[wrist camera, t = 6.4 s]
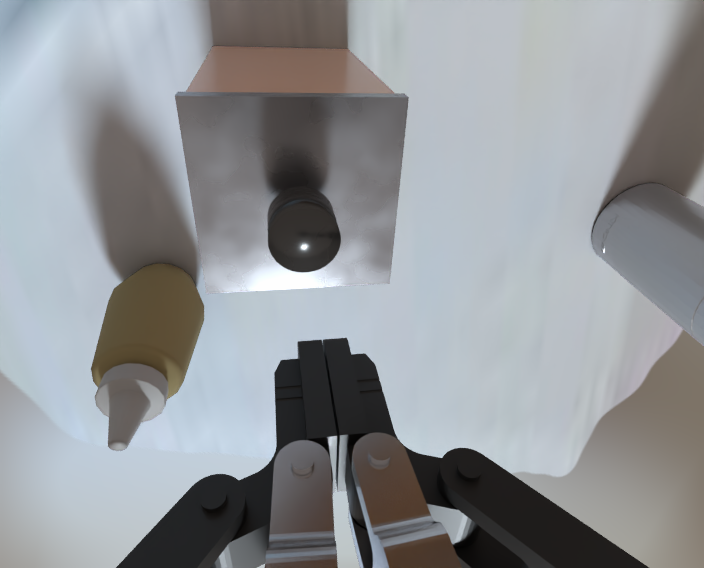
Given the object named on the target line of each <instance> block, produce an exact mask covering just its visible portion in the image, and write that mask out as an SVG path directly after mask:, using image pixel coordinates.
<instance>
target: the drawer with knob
mask: <svg viewBox="0 0 704 568" xmlns="http://www.w3.org/2000/svg"><path fill="white" fill-rule="evenodd" d="M175 99H176V105H177V111H178V117H179V124H180V130H181V136H182V143H183V149H184V155H185V161H186V168H187V174H188V180H189V187H190V193H191V199H192V205H193V212H194V218H195V224H196V231H197V237H198V243H199V249H200V256H201V262H202V268H203V275H204V281H205V287H206V293H207V294H210V293H228V292H246V291H264V290H281V289H299V288H317V287H335V286H353V285H371V284H388V283H390V274H391V264H392V255H393V245H394V235H395V225H396V216H397V206H398V196H399V186H400V177H401V167H402V157H403V147H404V138H405V128H406V118H407V108H408V99H409V97H408V96H406V95H405V94H386V93H266V92H177V94H176V95H175Z"/></svg>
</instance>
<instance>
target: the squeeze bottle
mask: <svg viewBox="0 0 704 568" xmlns="http://www.w3.org/2000/svg"><path fill="white" fill-rule="evenodd" d="M203 321H204V305H203V302H202V300H201V298H200V295H199V293H198V290H197V288H196V286H195V284H194V282H193V280H192V278H191V276H189V275H188V274H187V273H186V272H185V271H183V270H182V269H181V268H178V267H175V266H173V265H170V264H159V263H155V264H152V265H148V266H145V267H143V268H141V269H140V270H138V271H137V272H136V273H134V274H133V275H131V276H130V277H128V278H127V279H126V280H124V281H123V282H122V283H121V284H119V285H118V286H117V287H116V288H114V290H113V292H112V295H111V297H110V299H109V302H108V305H107V309H106V313H105V317H104V321H103V325H102V329H101V332H100V336H99V340H98V344H97V348H96V352H95V356H94V360H93V363H92V367H91V371H92V377H93V382H94V383H95V384H96V385H97V387H98V390H97V392H96V395H95V400H96V406H97V407H98V408H99V409H100V411H101V412H102V413H103V414H104V415H106V416H108V417H109V432H108V447H109V448H110V449H112V450H115V451H122V450H125V449H126V448H127V446H128V445H129V443H130V441H131V439H132V438H133V436H134V434H135V432H136V431H137V429H138V427H139V425H140V424H141V422H145V421H149V420H152V419H153V418H155V417H156V416H158V415H159V414H161V412H162V411H163V409H164V407H165V405H166V401H167V399H168V398H170V397H171V396H173V395H174V394H176V393H177V392H178V390H179V388H180V387H181V385H182V383H183V381H184V378H185V375H186V372H187V369H188V366H189V363H190V360H191V357H192V354H193V351H194V348H195V345H196V342H197V339H198V336H199V333H200V330H201V327H202V324H203Z"/></svg>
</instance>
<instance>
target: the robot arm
mask: <svg viewBox="0 0 704 568" xmlns="http://www.w3.org/2000/svg"><path fill="white" fill-rule="evenodd" d="M592 245H593V249H594V250H595V252H596V254H597V255H598V256H599V257H601V258H602V259H603V260H604V261H605V262H606V263H607V264H609V265H610V266H611V267H612V268H613V269H614V270H615V271H617V272H618V273H619V274H620V275H621V276H622V277H623V278H624V279H626V280H627V281H628V282H629V283H630V284H631V285H633V286H634V287H635V288H636V289H637V290H638V291H640V292H641V293H642V294H643V295H644V296H645V297H647V298H648V299H649V300H650V301H651V302H652V303H654V304H655V305H656V306H657V307H658V308H659V309H661V310H662V311H663V312H664V313H665V314H666V315H668V316H669V317H670V318H671V319H672V320H673V321H675V322H676V323H677V324H678V325H679V326H680V327H682V328H683V329H684V330H685V331H686V332H687V333H689V334H690V335H691V336H692V337H693V338H694V339H696V340H697V341H698V342H700V344H702V345H703V346H704V207H703V206H701V205H699V204H697V203H696V202H694V201H692V200H690V199H688V198H686V197H684V196H683V195H681V194H679V193H677V192H675V191H673V190H671V189H670V188H668V187H666V186H664V185H661V184H657V183H646V184H642V185H637V186H635V187H633V188H630V189H628V190H626V191H625V192H623V193H621V194H620V195H618V196H617V197H616V198H615V199H613V200H612V201H611V202H610V203H609V204H608V205H607V206H606V208H605V209H604V210H603V211H602V213H601V214H600V216H599V217H598V219H597V221H596V223H595V225H594V229H593V233H592ZM275 405H276V437H277V447H276V452H275V454H274V457H273V458H272V460H271V461H270V462H269V464H268V465H267V466H266V467H264V468H263V469H262V470H260V471H259V472H257V473H255V474H253V475H251V476H248V477H246V478H244V479H241V480H237V479H236V478H234V477H232V476H229V475H226V474H215V475H210V476H208V477H205V478H203V479H201V480H200V481H198V482H197V483H195V484H194V485H193V486H192V487H191V488H190V489H189V490H188V491H187V492H186V494H185V495H184V496H183V497H182V498H181V499H180V500H179V501H178V502H177V503H176V504H175V505H174V506H173V507H172V509H171V510H170V511H169V512H168V513H167V514H166V515H165V516H164V517H163V518H162V519H161V520H160V521H159V522H158V524H157V525H156V526H155V527H154V528H153V529H152V530H151V531H150V532H149V533H148V534H147V535H146V536H145V537H144V538H143V539H142V541H141V542H140V543H139V544H138V545H137V546H136V547H135V548H134V549H133V550H132V551H131V552H130V553H129V554H128V556H127V557H126V558H125V559H124V560H123V561H122V562H121V563H120V564H119V565H118V566H117V567H116V568H257V567H259V566H261V565H263V564H264V563H265V568H338V567H337V550H336V541H335V536H334V519H333V518H334V517H333V499H332V495H333V493H334V492H335V483H336V484H337V491H338V492H339V491H347V496H348V502H349V513H348V518H349V524H350V528H351V532H352V536H353V540H354V545H355V549H356V553H357V557H358V561H359V566H360V568H648V567H647V566H646V565H644V564H643V563H641V562H640V561H638V560H637V559H635V558H634V557H632V556H631V555H629V554H628V553H627V552H625V551H624V550H622V549H620V548H619V547H618V546H616V545H615V544H613V543H612V542H610V541H609V540H607V539H606V538H604V537H603V536H602V535H600V534H598V533H597V532H596V531H594V530H593V529H591V528H590V527H588V526H587V525H585V524H584V523H583V522H581V521H580V520H578V519H577V518H575V517H574V516H572V515H571V514H569V513H568V512H566V511H565V510H563V509H562V508H560V507H559V506H557V505H556V504H555V503H553V502H552V501H550V500H549V499H547V498H546V497H544V496H543V495H541V494H540V493H538V492H537V491H535V490H534V489H532V488H531V487H530V486H528V485H527V484H525V483H524V482H522V481H521V480H519V479H518V478H516V477H515V476H513V475H512V474H510V473H509V472H508V471H506V470H505V469H503V468H502V467H500V466H499V465H497V464H496V463H494V462H493V461H491V460H490V459H488V458H487V457H485V456H484V455H482V454H481V453H479V452H477V451H475V450H472V449H468V448H457V449H453V450H450V451H449V452H447V453H446V454H445V455H444V456H443V458H438V457H433V456H427V455H422V454H418V453H416V452H413V451H411V450H410V449H408V448H407V447H405V446H404V445H403V444H402V443H401V442H400V441H399V440H398V438H397V436H396V435H395V432H394V429H393V425H392V422H391V418H390V415H389V411H388V408H387V404H386V401H385V397H384V394H383V392H382V387H381V383H380V381H379V376H378V373H377V369H376V366H375V364H374V363H373V362H372V361H371V360H370V358H369V357H368V356H367V355H366V354H353V355H351V352H350V348H349V344H348V340H347V338H339V339H325V340H323V345H322V340H313V341H299V342H298V359H290V360H281V362H280V364H279V365H278V367H277V369H276V371H275Z"/></svg>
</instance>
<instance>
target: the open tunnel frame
mask: <svg viewBox="0 0 704 568" xmlns="http://www.w3.org/2000/svg"><path fill="white" fill-rule="evenodd" d="M186 92H266V93H386V94H395V93H394V92H393V91H392V90H391V89H390V88H389V87H388V86H387V85H386V84H385V83H383V82H382V81H381V80H380V79H379V78H378V77H377V76H376V75H375V74H374V73H373V72H372V71H371V70H370V69H369V68H368V67H367V66H366V65H364V64H363V63H362V62H361V61H360V60H359V59H358V58H357V57H356V56H355V55H354V54H353V53H352V52H351V51H350V50H349V49H327V48H283V47H240V46H213V47H212V48H211V50H210V52H209V54H208V55H207V57H206V59H205V60H204V62H203V64H202V65H201V67H200V69H199V70H198V72H197V74H196V76H195V77H194V79H193V81H192V82H191V84H190V86H189V87H188V89H187V91H186Z"/></svg>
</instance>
